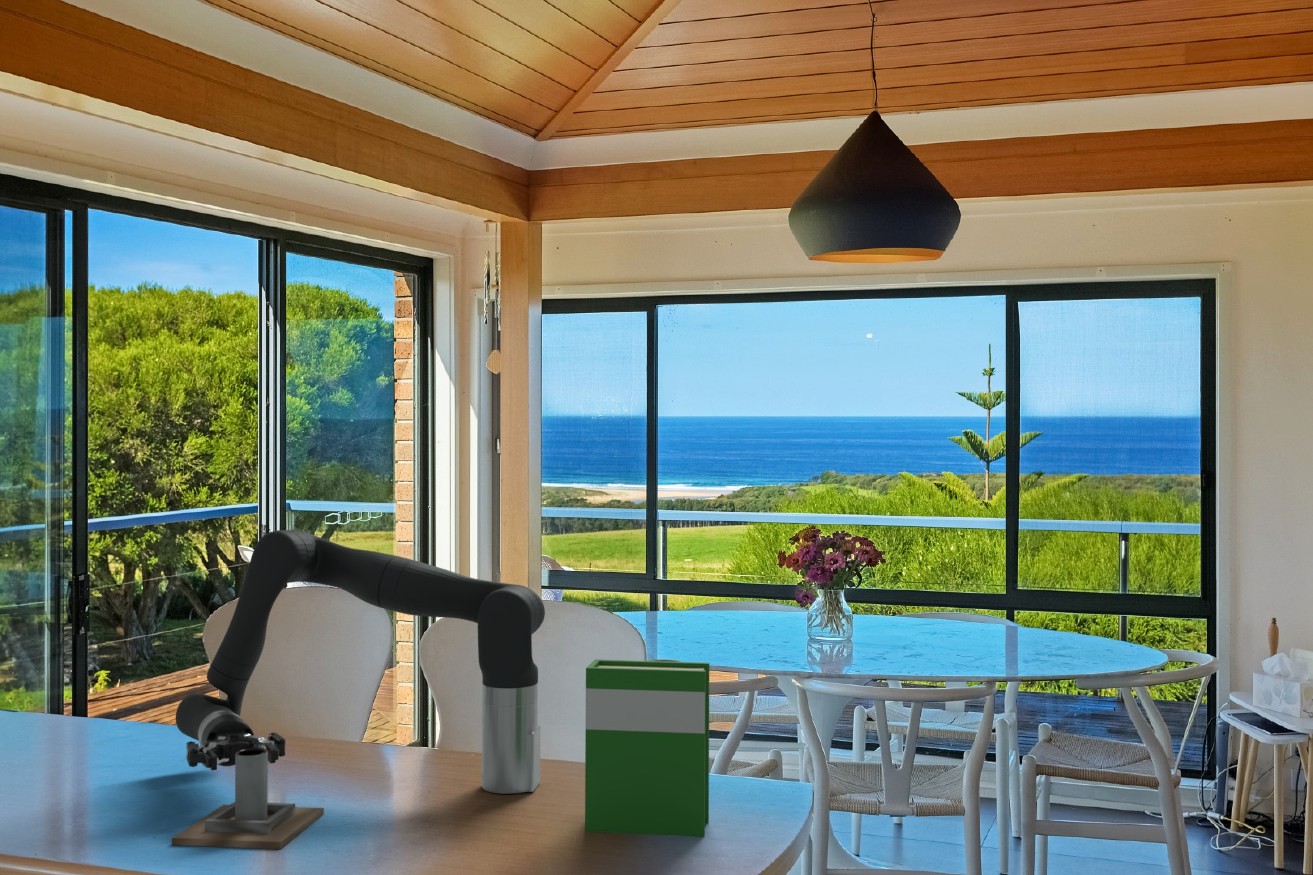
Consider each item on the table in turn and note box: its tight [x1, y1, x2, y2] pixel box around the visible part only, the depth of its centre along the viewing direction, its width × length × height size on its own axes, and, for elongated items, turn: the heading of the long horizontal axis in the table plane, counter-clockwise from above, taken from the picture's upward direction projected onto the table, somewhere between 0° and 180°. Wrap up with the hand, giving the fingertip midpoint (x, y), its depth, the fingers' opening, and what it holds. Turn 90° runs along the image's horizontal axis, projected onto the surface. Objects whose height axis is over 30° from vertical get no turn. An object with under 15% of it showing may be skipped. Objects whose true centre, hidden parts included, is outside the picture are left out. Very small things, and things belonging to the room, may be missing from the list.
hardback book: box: [584, 659, 710, 838], centre depth 177 cm, size 18×7×24 cm, turn 83°
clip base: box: [171, 801, 325, 850], centre depth 175 cm, size 16×16×2 cm
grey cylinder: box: [234, 748, 269, 821], centre depth 175 cm, size 4×4×10 cm
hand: (244, 759), depth 179 cm, fingers open, 8 cm apart
